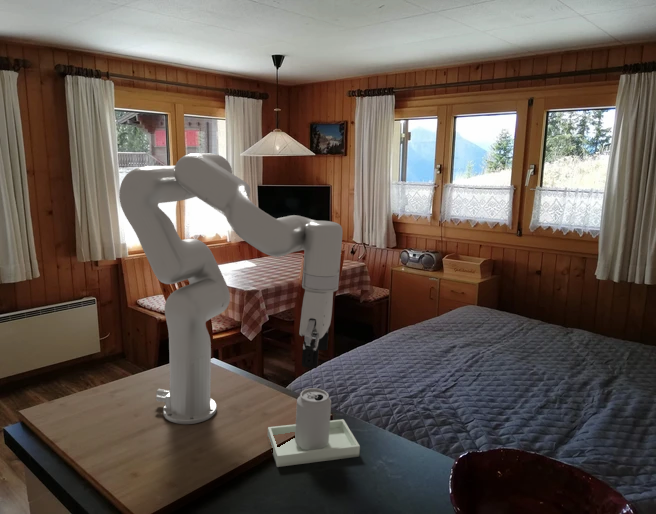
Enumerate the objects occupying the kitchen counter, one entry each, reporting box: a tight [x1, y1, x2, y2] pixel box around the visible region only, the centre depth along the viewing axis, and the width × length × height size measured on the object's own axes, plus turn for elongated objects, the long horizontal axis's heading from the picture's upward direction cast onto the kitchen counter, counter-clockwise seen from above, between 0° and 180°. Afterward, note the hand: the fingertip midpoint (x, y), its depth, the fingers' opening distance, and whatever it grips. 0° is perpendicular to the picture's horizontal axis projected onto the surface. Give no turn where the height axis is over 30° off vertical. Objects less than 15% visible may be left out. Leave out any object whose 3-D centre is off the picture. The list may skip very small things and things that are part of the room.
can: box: [295, 387, 332, 451], centre depth 111 cm, size 8×8×12 cm
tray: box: [267, 418, 361, 468], centre depth 112 cm, size 18×11×2 cm, turn 107°
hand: (315, 357), depth 109 cm, fingers open, 9 cm apart
